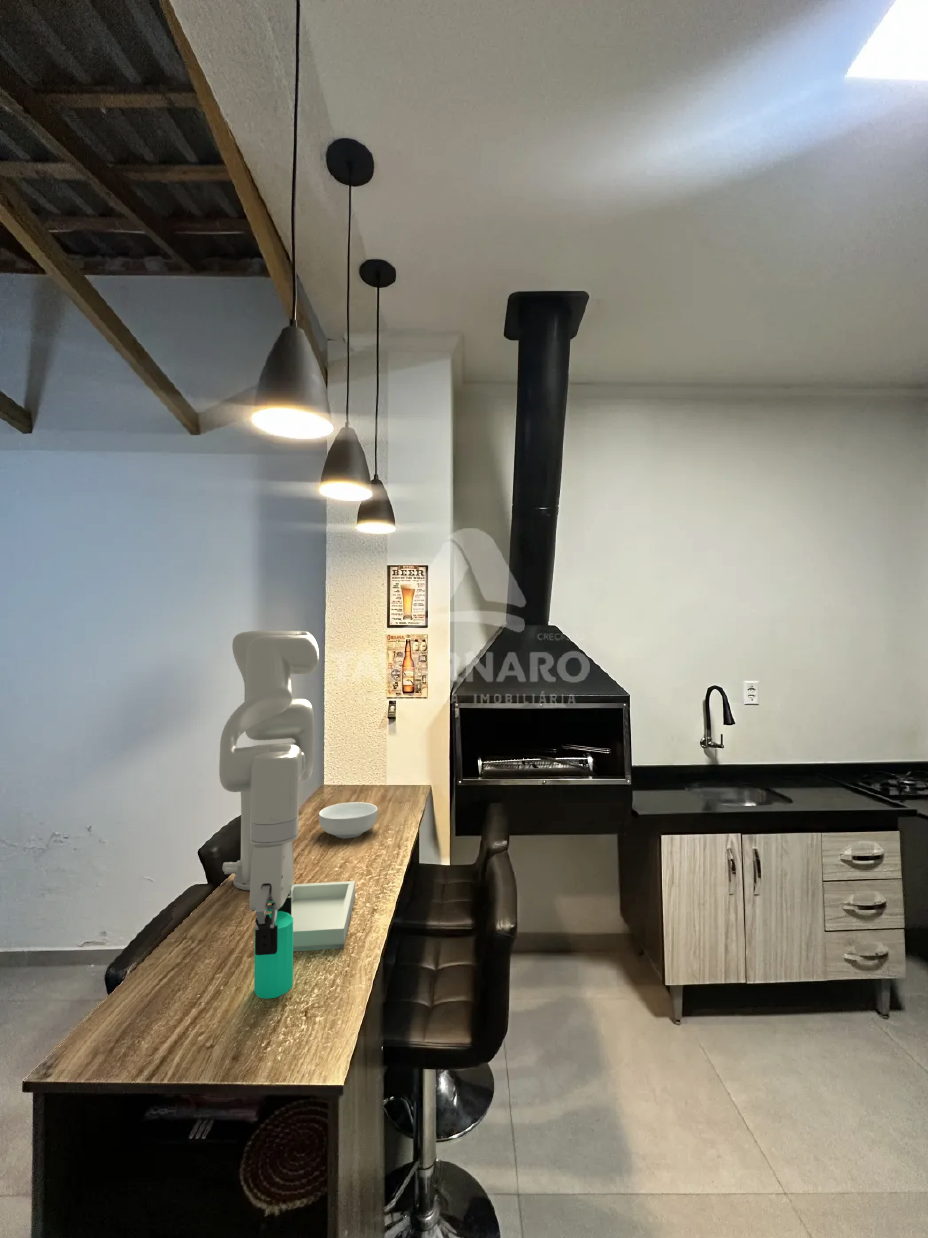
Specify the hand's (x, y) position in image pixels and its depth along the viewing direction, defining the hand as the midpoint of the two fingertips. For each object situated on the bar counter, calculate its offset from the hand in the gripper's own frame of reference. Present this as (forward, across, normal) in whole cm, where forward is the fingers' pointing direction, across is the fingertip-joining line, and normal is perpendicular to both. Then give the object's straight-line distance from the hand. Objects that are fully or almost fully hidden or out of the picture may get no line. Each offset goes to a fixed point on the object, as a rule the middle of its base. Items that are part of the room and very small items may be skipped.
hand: (274, 937), depth 87 cm
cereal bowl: (+7, -72, +4) cm, 72 cm away
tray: (+8, -21, +3) cm, 22 cm away
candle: (+8, -1, 0) cm, 8 cm away
